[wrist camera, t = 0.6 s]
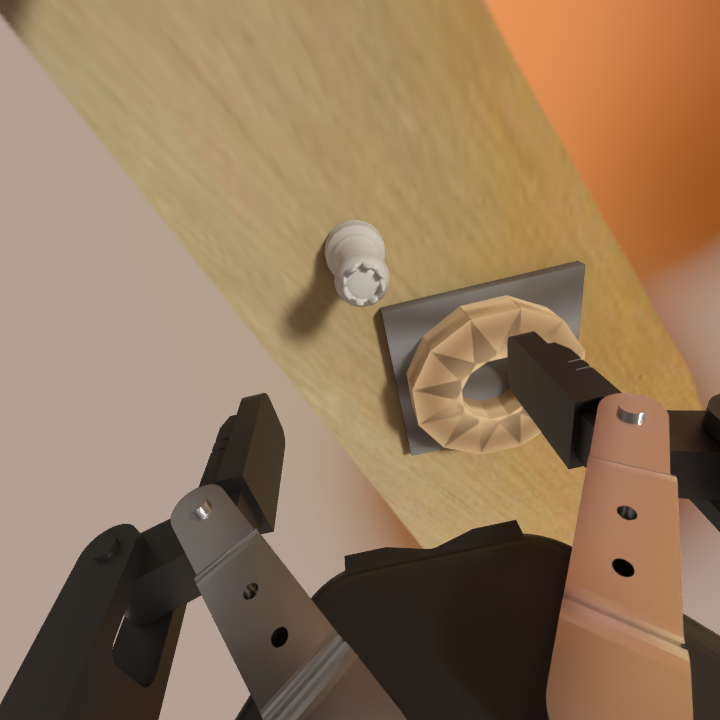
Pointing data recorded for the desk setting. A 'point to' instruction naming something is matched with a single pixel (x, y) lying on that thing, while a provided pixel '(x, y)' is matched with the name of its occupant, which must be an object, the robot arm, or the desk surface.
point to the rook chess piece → (357, 262)
